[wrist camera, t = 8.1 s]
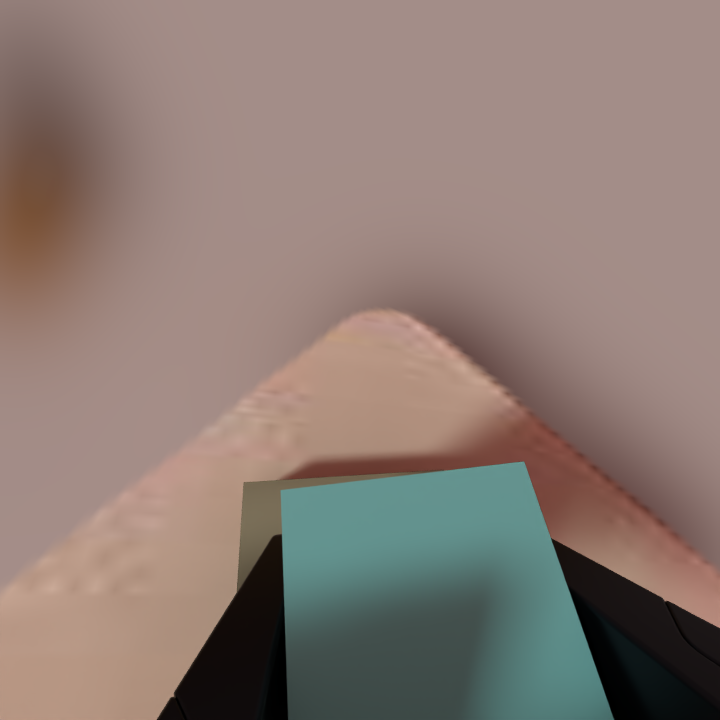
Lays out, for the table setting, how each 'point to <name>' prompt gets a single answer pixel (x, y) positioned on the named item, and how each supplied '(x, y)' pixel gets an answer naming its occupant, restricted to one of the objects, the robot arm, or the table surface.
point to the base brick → (277, 512)
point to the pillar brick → (430, 603)
